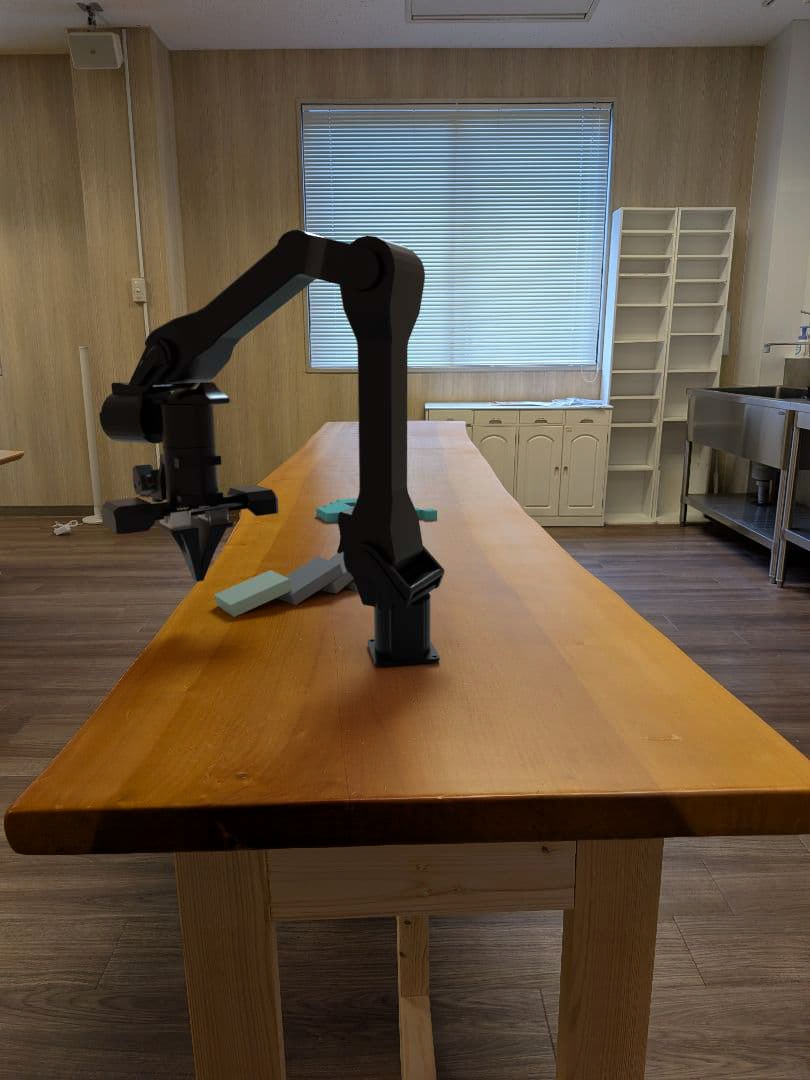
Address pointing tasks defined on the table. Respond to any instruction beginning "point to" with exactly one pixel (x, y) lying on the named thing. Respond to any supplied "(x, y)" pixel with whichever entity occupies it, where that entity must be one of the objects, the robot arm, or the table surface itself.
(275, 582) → the sage domino
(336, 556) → the domino
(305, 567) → the domino
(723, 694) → the table surface
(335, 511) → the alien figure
